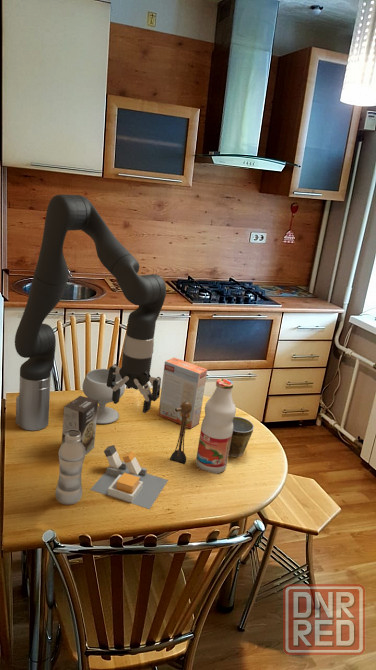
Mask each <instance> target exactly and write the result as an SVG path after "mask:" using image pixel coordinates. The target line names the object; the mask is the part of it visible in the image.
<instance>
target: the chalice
mask: <svg viewBox="0 0 376 670" xmlns="http://www.w3.org/2000/svg"><path fill="white" fill-rule="evenodd" d="M108 373H109V369H108V368H96V369H93V370H90V371H89V372H88V373H87V374H86V375H85V377H84V379H83V381H82V388H81V389H82V392H83V394H84V395H85V396H86V397H87V398H91V399H94V400H97V401H98V408H97V419H96V424H102V425H104V424H112V423H114V422H116V421H118V420H119V417H120V413H119V412H118V411H117V410H116V409H114V408H112V407H109V406H106V405H107V404H108V403H113V401H112V394H113V390H112V388H110V387H107V379H108ZM121 380H122V378H121V376H120V374H119V372H118V373H117V374H116V378H115V383H119V382H120V381H121ZM125 388H126V385H125V384H124V385H122V386H121V387H120V389H121V390H120V398H122V396H124V393H125Z"/></svg>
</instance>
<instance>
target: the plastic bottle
mask: <svg viewBox="0 0 376 670" xmlns="http://www.w3.org/2000/svg"><path fill="white" fill-rule="evenodd" d="M80 441H81V432H80V431H79V430H75V429H71V430H67V431H66V433H65V442H64V443H63V444H62V443H61V445H60V446H59V448H58V449H59V450H58V462H59V475H58V480H57V481H58V482H57V485H56V489H55V499H56V501H57V502H58V503H60V504H62V505H66V506H68V505H74V504H77V503H79V501H80V500H81V498H82V495H83V486H82V471H83V465H84V461H85V457H86V455H85V453H86V451H85V447H84V446H83V444H82V443H81V442H80Z"/></svg>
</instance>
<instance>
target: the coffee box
mask: <svg viewBox="0 0 376 670" xmlns="http://www.w3.org/2000/svg"><path fill="white" fill-rule="evenodd" d="M98 406H99V404H98V401H97V400H94V399H91V398H88V397H85V396H82V395H78V396H77V397H76V398H75V399H73V400H71V401H70V402H69V403H67V404H66V405H65V406H64V408H63V418H62V419H63V420H62V430H61V431H62V435H61V445H62V444H63V443H64V442H65V433H66V431H67V430H71V429H75V430H79V431H80V432H81V441H80V442H81V443H82V444H83V446H84V447H85V451H86V453H85V456H86V455H88V453H89V452H91V451H92V450H93V449H94V448H95V441H96V429H97V423H96V419H97V408H98Z"/></svg>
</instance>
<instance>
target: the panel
mask: <svg viewBox="0 0 376 670" xmlns="http://www.w3.org/2000/svg"><path fill="white" fill-rule="evenodd" d="M121 462H122V465H121V466H120V467H119V468H118V469H115V468H112V467H110V465H109V466H107V467H106V471H105V472H104V473H103V474H102V475H101V476H100V477H99V479H98V480H97V481H96V482H95V483H94V484H93V486H92V487H91V488H90V491H93V492H96V493H99V494H102V495H105V496H108V497H111V498H115V499H118V500H119V501H123V502H126V503H130V504H132V505H136V506H138V507H141V508H145V509H148V510H151V508H152V507H153V505H154V503H155V502H156V500H157V499H158V496H160V494H161V492H162V491H163V489H164V487H165V486H166V485H167V483H168V482H169V479H166V478H162V477H159V476H157V475H153V474H150V473H147V471H148V469H147V468H146V467H142V466H140V467H141V469H142V470H141V471H140V472H139V474H138V475H134V474H131V473H130V472H129V470H128V468H127V466H126V464H125V462H124V460H123V461H122V460H121ZM124 473H127V474H130V475H133V476H136V477H140V479H139V485H138V486H137V488H136V489H135V490H134V492H133V493H132V494H129V493H126V492H123V491H120V490H117V489H116V486H117V481H118V480H119V478H120V477H121V476H122V475H123V474H124Z"/></svg>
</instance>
